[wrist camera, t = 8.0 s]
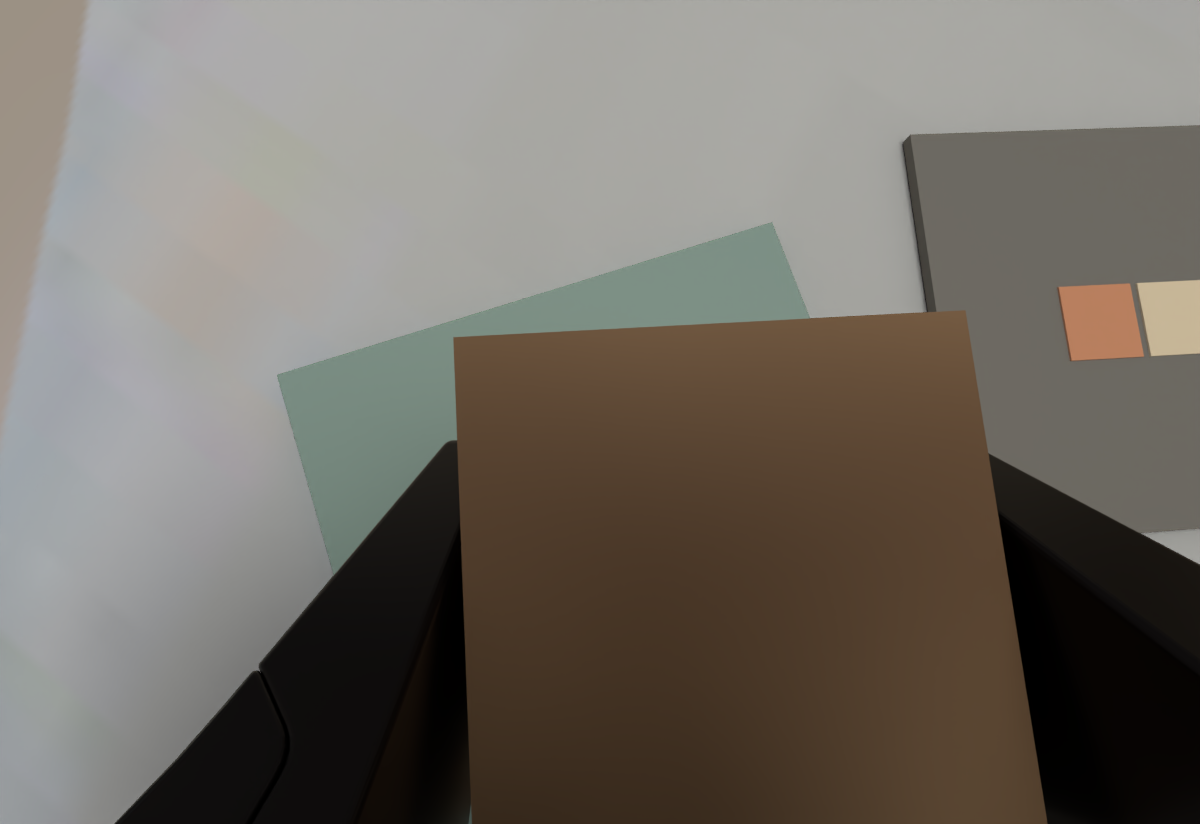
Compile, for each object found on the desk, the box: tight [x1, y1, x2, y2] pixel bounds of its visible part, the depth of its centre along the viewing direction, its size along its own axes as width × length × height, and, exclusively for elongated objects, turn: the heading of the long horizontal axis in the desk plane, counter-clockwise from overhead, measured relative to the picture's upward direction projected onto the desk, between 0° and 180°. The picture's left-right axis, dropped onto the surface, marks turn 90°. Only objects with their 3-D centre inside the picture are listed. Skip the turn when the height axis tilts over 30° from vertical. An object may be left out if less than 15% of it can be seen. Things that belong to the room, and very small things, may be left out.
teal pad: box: [277, 222, 810, 824], centre depth 17 cm, size 13×13×1 cm
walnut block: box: [453, 310, 1048, 824], centre depth 10 cm, size 4×4×9 cm
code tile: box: [903, 125, 1200, 533], centre depth 19 cm, size 11×11×1 cm
